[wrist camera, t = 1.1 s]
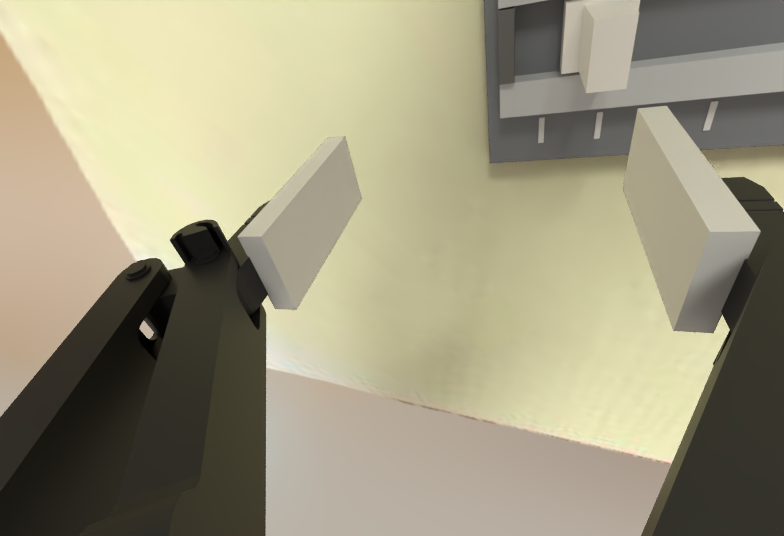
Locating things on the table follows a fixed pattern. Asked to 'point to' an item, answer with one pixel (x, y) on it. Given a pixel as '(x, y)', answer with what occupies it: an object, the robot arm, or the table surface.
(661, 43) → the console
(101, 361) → the robot arm
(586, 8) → the fader tab
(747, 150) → the table surface
